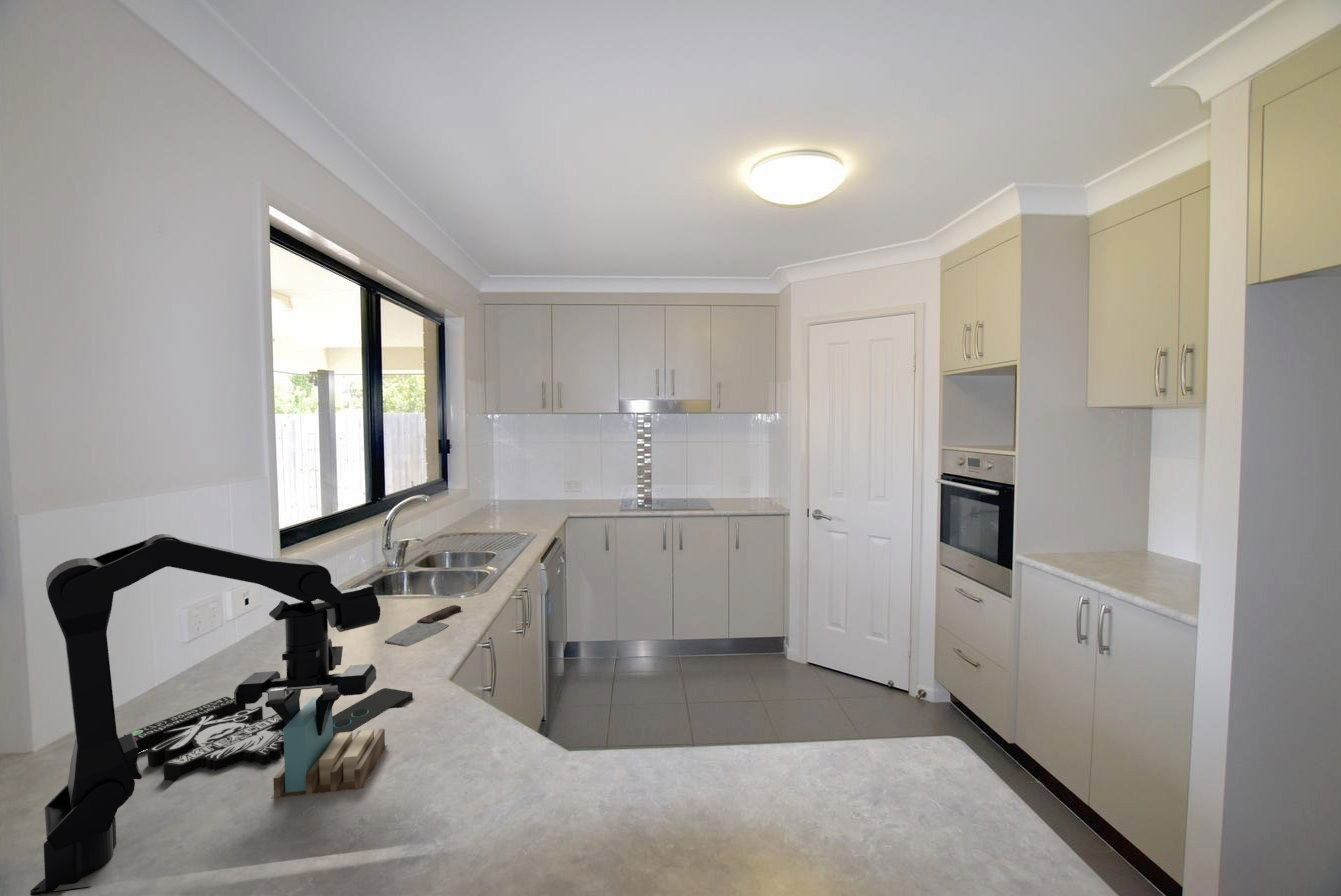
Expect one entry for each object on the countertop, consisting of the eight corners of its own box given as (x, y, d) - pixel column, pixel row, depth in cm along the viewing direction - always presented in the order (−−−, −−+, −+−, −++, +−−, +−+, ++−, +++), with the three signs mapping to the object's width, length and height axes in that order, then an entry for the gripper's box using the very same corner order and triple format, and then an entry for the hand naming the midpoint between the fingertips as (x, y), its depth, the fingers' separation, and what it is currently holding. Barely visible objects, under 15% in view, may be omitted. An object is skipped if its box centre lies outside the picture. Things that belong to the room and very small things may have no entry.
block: (306, 790, 86) (305, 726, 86) (285, 792, 86) (283, 728, 85) (333, 753, 96) (331, 695, 96) (314, 755, 96) (312, 697, 95)
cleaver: (446, 610, 177) (446, 603, 177) (475, 612, 175) (474, 605, 175) (380, 646, 148) (380, 639, 148) (413, 649, 146) (413, 641, 146)
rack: (363, 794, 87) (362, 768, 87) (271, 804, 85) (270, 778, 84) (387, 750, 99) (387, 728, 99) (307, 758, 96) (306, 735, 96)
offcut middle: (333, 783, 88) (333, 758, 88) (319, 785, 88) (319, 759, 87) (352, 754, 96) (352, 731, 96) (339, 755, 95) (339, 732, 95)
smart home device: (295, 735, 102) (383, 686, 121) (296, 744, 102) (383, 694, 121) (331, 742, 99) (414, 692, 118) (331, 752, 99) (414, 700, 118)
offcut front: (357, 781, 89) (356, 756, 88) (343, 782, 88) (342, 757, 88) (374, 752, 96) (373, 729, 96) (361, 753, 96) (361, 730, 96)
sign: (234, 693, 115) (326, 726, 102) (234, 707, 115) (327, 742, 102) (110, 739, 98) (202, 786, 85) (110, 756, 98) (202, 806, 85)
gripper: (385, 619, 100) (387, 706, 100) (268, 626, 97) (271, 716, 97) (363, 642, 89) (365, 739, 89) (230, 651, 86) (233, 752, 86)
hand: (309, 735), depth 91 cm, fingers closed on block, 3 cm apart
